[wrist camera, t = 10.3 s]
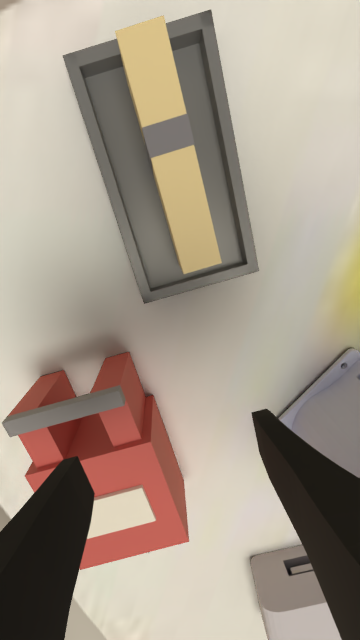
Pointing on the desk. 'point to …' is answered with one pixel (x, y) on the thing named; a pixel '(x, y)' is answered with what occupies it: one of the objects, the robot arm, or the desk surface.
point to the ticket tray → (134, 168)
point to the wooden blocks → (169, 141)
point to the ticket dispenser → (108, 458)
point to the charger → (291, 597)
